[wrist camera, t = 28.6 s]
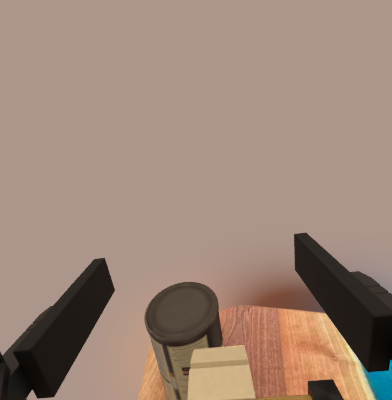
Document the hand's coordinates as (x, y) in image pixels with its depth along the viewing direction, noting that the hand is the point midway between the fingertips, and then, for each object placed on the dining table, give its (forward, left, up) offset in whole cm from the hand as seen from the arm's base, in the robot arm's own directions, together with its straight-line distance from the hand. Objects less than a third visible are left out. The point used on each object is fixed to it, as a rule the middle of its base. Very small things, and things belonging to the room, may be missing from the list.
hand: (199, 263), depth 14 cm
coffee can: (-5, +11, -28) cm, 30 cm away
